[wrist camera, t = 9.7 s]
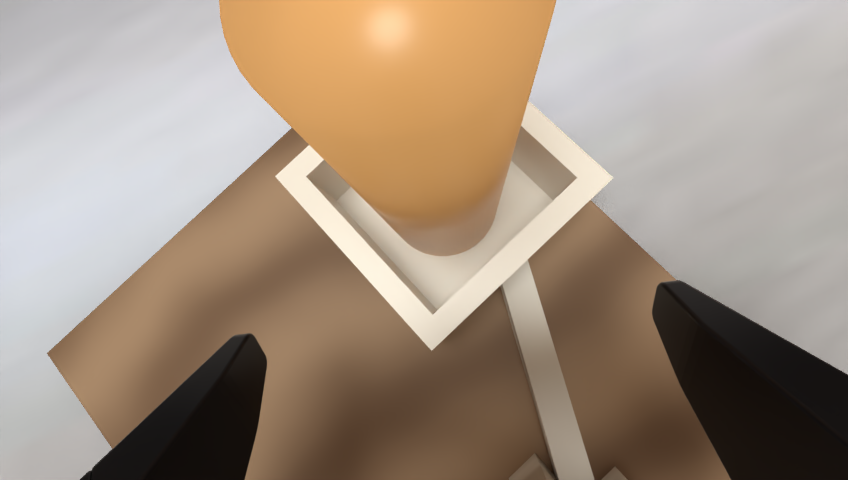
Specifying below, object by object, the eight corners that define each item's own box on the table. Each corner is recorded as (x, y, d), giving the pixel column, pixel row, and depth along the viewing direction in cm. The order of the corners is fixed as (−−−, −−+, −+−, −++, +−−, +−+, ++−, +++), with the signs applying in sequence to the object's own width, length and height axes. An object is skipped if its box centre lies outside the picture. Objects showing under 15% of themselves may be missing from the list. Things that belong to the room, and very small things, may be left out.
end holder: (581, 205, 18) (613, 177, 14) (439, 340, 18) (431, 350, 14) (447, 80, 19) (441, 22, 15) (315, 202, 19) (275, 176, 15)
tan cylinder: (512, 234, 17) (618, 61, 5) (408, 271, 18) (266, 188, 5) (475, 136, 18) (487, -220, 6) (376, 172, 18) (186, -99, 6)
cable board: (865, 469, 16) (972, 514, 13) (444, 891, 16) (438, 1058, 12) (406, 38, 21) (394, -14, 17) (67, 350, 20) (-15, 360, 17)
